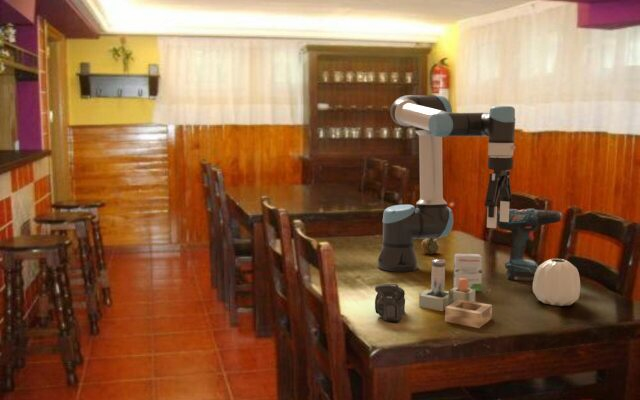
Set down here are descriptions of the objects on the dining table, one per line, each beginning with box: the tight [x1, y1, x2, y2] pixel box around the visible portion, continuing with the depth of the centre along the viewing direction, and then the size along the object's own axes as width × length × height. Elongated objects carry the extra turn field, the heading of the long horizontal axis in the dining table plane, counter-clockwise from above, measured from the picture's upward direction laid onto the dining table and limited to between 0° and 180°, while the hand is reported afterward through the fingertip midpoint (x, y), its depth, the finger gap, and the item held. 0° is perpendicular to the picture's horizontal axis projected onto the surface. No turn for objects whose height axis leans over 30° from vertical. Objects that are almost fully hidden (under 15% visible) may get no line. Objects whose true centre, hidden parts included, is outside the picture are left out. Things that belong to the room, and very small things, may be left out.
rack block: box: [444, 299, 493, 329], centre depth 180 cm, size 10×10×4 cm
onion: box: [420, 238, 440, 255], centre depth 266 cm, size 8×8×8 cm
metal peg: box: [430, 258, 446, 298], centre depth 193 cm, size 4×4×14 cm
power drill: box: [496, 208, 566, 282], centre depth 226 cm, size 9×23×25 cm, turn 78°
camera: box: [374, 282, 406, 323], centre depth 183 cm, size 13×10×10 cm
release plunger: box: [458, 278, 468, 293], centre depth 189 cm, size 3×3×5 cm
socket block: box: [418, 286, 477, 312], centre depth 192 cm, size 16×10×6 cm, turn 56°
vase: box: [532, 258, 581, 307], centre depth 197 cm, size 14×14×13 cm
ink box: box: [453, 253, 483, 292], centre depth 211 cm, size 9×5×12 cm, turn 87°
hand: (497, 224), depth 199 cm, fingers open, 13 cm apart
